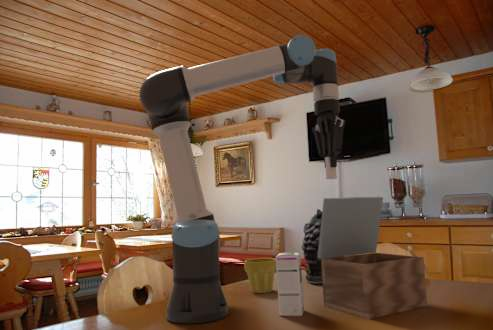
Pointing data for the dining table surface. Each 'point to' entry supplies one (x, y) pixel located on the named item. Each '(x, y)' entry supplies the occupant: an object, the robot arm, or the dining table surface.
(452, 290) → the dining table surface
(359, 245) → the crate lid
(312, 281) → the dark pine cone
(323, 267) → the walnut crate
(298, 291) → the syrup box
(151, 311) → the dining table surface
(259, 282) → the plant pot
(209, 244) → the robot arm
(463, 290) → the dining table surface
